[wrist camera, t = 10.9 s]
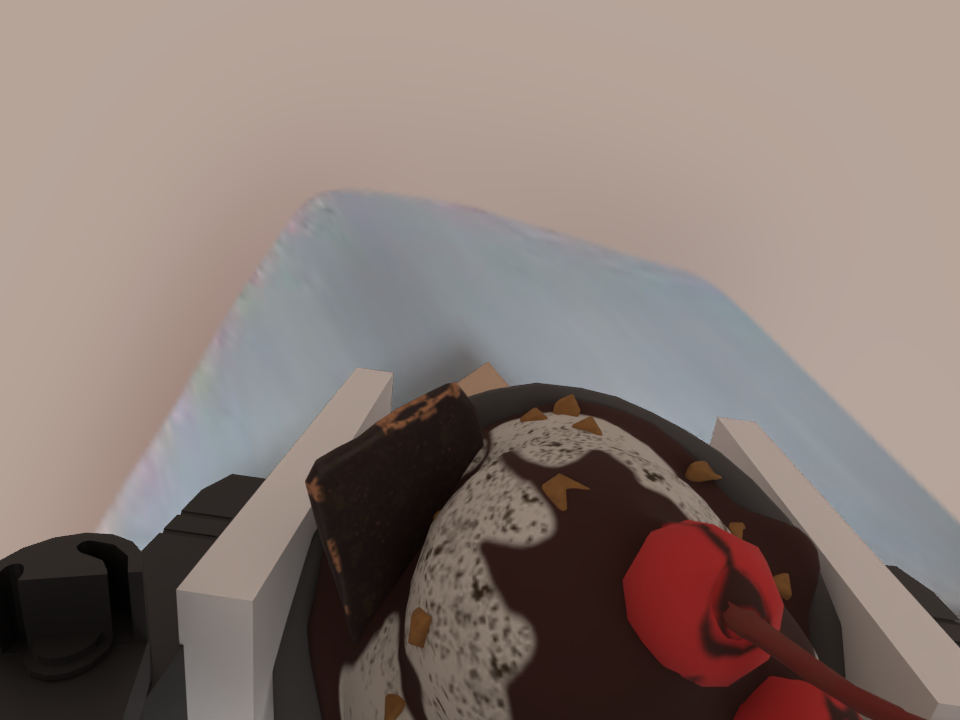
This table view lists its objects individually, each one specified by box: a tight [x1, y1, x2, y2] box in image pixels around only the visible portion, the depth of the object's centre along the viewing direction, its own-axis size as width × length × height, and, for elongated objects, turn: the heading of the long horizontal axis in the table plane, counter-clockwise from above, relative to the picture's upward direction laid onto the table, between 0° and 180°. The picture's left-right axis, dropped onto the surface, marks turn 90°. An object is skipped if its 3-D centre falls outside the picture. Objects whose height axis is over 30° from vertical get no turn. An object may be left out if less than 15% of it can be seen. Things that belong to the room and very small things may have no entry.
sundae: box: [273, 383, 926, 720], centre depth 9 cm, size 7×7×15 cm
